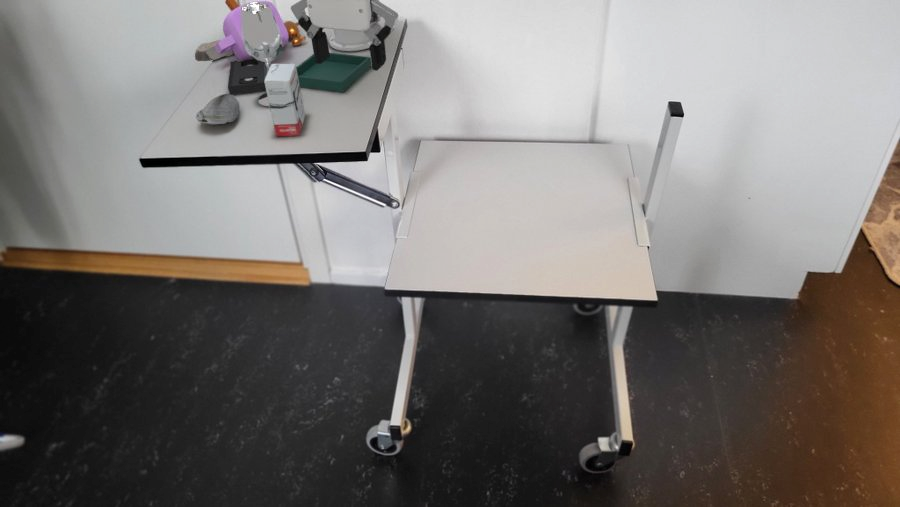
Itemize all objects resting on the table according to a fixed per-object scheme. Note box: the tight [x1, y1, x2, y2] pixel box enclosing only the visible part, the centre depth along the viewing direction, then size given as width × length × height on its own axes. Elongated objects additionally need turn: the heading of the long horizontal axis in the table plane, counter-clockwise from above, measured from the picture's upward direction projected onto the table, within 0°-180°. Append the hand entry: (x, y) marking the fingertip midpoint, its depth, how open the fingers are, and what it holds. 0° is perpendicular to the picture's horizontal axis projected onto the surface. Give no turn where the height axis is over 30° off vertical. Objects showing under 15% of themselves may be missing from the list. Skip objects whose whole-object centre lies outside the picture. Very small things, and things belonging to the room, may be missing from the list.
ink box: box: [264, 63, 306, 137], centre depth 131 cm, size 8×5×12 cm, turn 2°
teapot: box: [215, 0, 290, 61], centre depth 160 cm, size 20×12×13 cm
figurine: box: [284, 20, 307, 47], centre depth 171 cm, size 12×4×11 cm
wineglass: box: [241, 2, 283, 108], centre depth 139 cm, size 8×8×20 cm
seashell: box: [195, 93, 240, 125], centre depth 137 cm, size 12×8×5 cm
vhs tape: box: [227, 59, 268, 96], centre depth 153 cm, size 14×8×2 cm, turn 12°
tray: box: [296, 51, 372, 94], centre depth 153 cm, size 14×14×2 cm
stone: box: [194, 39, 234, 62], centre depth 165 cm, size 12×5×3 cm, turn 131°
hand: (350, 63), depth 103 cm, fingers open, 9 cm apart
